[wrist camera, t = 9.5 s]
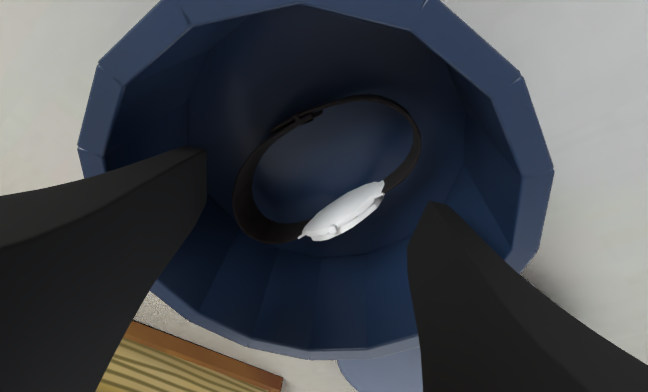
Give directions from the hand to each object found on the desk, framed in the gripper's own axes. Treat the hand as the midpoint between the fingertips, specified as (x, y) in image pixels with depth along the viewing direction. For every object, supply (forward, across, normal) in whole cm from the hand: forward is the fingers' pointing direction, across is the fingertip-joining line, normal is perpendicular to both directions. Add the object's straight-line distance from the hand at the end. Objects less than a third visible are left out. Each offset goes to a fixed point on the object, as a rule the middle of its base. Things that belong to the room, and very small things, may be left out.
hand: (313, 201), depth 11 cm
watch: (+3, 0, 0) cm, 3 cm away
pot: (+4, 0, 0) cm, 4 cm away
